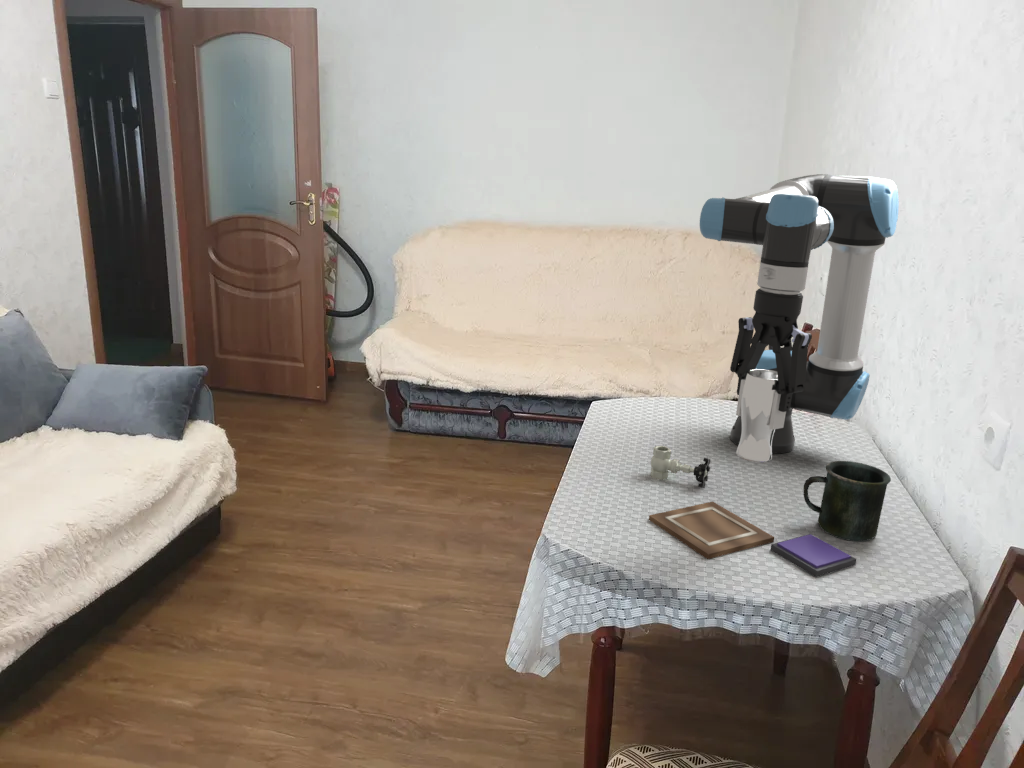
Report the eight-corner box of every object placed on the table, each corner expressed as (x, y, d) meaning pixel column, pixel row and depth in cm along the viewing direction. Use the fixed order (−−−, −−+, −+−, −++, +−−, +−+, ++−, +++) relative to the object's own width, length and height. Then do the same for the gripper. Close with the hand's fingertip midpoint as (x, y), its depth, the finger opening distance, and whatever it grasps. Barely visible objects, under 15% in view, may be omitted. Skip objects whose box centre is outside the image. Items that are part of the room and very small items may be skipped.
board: (711, 506, 154) (712, 500, 153) (773, 541, 140) (774, 536, 140) (648, 520, 146) (649, 514, 146) (707, 559, 133) (708, 553, 132)
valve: (645, 480, 165) (701, 493, 160) (648, 451, 163) (705, 463, 158) (653, 470, 170) (708, 482, 165) (657, 442, 168) (712, 453, 163)
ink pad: (808, 539, 142) (810, 531, 142) (855, 565, 134) (857, 557, 133) (770, 550, 137) (771, 542, 137) (816, 577, 129) (817, 568, 129)
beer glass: (742, 463, 133) (755, 379, 128) (727, 448, 139) (739, 368, 135) (781, 463, 133) (795, 380, 129) (764, 448, 140) (776, 368, 136)
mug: (884, 547, 141) (898, 487, 137) (801, 535, 144) (812, 476, 140) (871, 522, 151) (883, 465, 148) (793, 511, 154) (803, 455, 150)
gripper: (719, 280, 134) (702, 406, 141) (814, 302, 118) (790, 443, 125) (750, 279, 138) (732, 401, 144) (845, 300, 122) (820, 436, 128)
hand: (759, 420), depth 134 cm, fingers closed on beer glass, 7 cm apart
